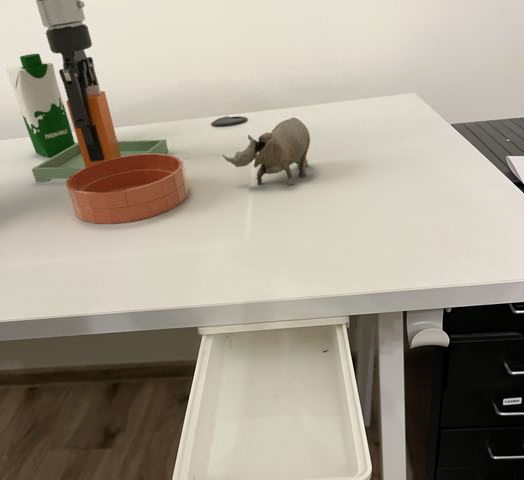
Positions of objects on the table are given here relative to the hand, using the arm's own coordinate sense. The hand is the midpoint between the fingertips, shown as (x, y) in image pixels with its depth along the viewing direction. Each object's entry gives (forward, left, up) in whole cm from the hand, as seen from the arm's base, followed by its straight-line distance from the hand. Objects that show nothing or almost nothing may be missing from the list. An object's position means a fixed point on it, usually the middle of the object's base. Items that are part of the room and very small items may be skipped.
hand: (101, 154), depth 113 cm
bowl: (+17, -20, -2) cm, 26 cm away
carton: (0, 0, -2) cm, 2 cm away
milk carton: (-19, +11, -2) cm, 22 cm away
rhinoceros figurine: (+40, -9, -2) cm, 41 cm away
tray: (0, 0, -2) cm, 2 cm away
